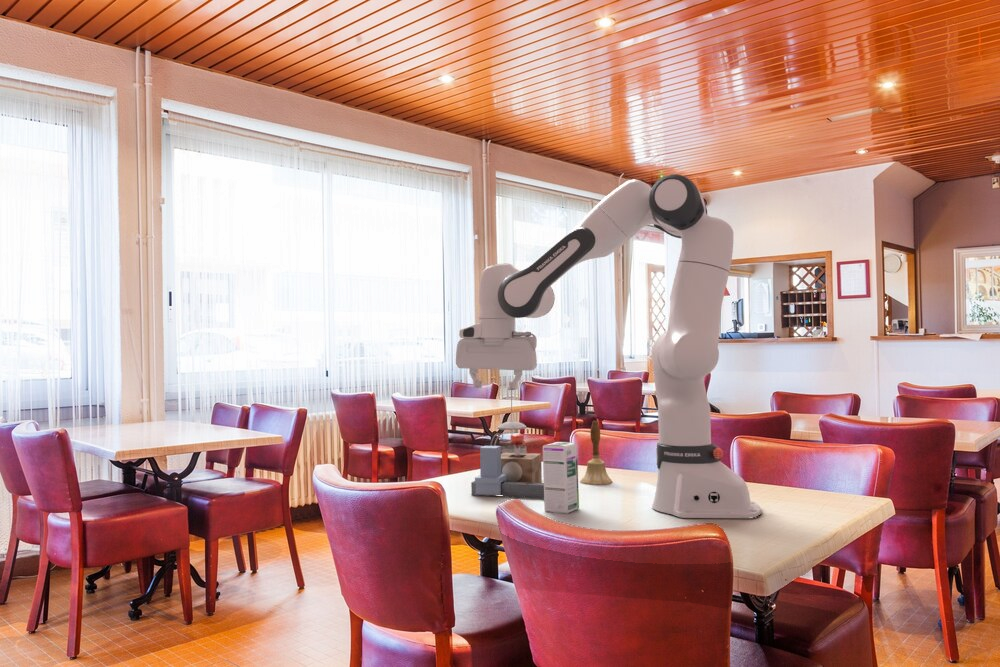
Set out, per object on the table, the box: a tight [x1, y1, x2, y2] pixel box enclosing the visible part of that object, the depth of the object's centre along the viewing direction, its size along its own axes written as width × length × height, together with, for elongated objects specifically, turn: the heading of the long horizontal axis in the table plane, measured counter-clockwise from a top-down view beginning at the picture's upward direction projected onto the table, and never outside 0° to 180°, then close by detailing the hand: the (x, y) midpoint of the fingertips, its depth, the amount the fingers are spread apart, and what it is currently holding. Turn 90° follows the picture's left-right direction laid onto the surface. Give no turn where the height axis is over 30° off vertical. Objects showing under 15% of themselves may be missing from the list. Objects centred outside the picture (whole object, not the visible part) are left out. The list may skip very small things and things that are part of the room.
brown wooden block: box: [501, 452, 543, 483], centre depth 190 cm, size 10×11×8 cm
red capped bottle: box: [510, 434, 525, 457], centre depth 190 cm, size 3×3×8 cm
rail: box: [470, 480, 544, 499], centre depth 180 cm, size 21×3×3 cm, turn 74°
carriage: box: [474, 445, 507, 496], centre depth 181 cm, size 6×7×11 cm
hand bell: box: [580, 420, 613, 486], centre depth 196 cm, size 8×8×16 cm
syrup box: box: [542, 441, 580, 515], centre depth 163 cm, size 6×6×14 cm
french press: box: [490, 386, 528, 454], centre depth 205 cm, size 10×12×25 cm
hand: (495, 388), depth 181 cm, fingers open, 8 cm apart
